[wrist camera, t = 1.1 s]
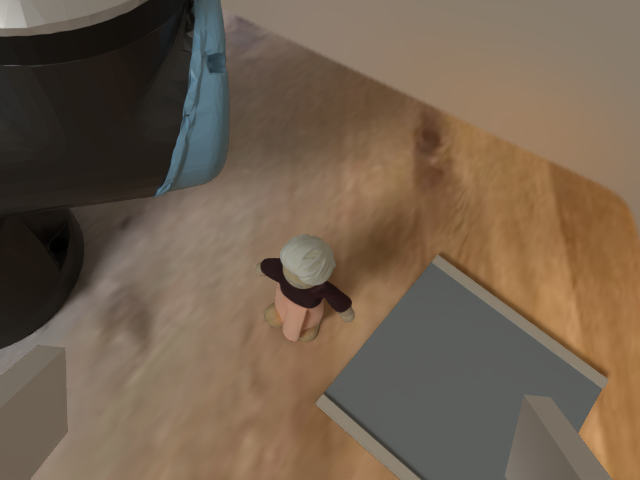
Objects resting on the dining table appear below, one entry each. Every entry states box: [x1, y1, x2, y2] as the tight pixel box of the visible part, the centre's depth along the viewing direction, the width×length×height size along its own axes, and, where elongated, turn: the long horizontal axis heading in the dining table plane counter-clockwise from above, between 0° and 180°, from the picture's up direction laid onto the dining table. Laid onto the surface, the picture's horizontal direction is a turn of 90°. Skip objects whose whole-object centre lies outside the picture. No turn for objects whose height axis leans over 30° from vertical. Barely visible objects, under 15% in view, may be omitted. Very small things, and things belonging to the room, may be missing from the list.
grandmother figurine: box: [255, 234, 355, 342], centre depth 35 cm, size 8×4×13 cm, turn 73°
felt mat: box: [316, 255, 608, 480], centre depth 38 cm, size 16×16×1 cm
